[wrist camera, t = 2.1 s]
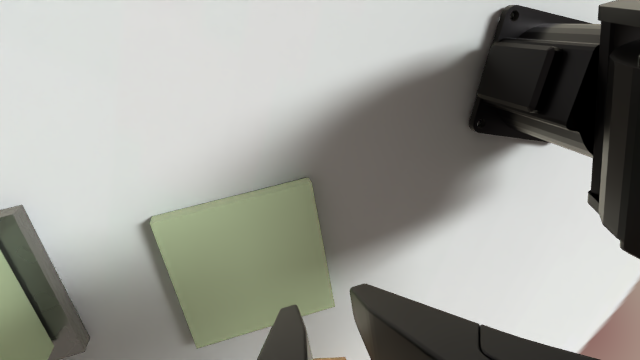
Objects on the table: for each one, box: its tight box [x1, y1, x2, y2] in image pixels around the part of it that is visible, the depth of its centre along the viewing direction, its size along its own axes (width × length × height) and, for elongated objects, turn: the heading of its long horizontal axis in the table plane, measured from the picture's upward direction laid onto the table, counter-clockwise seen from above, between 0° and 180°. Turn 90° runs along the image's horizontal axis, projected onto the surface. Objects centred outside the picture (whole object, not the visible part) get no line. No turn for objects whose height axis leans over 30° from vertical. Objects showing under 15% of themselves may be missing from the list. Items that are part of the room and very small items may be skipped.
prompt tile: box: [150, 178, 335, 349], centre depth 22 cm, size 8×8×1 cm
